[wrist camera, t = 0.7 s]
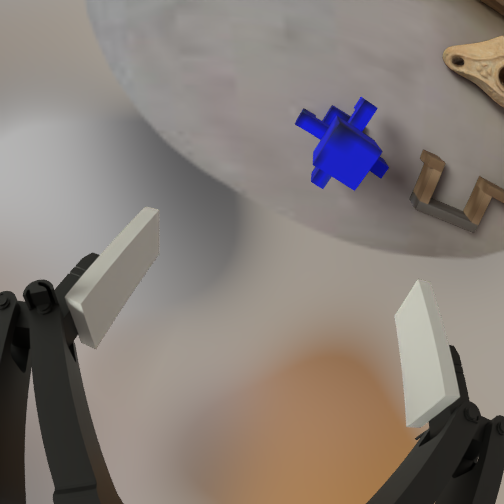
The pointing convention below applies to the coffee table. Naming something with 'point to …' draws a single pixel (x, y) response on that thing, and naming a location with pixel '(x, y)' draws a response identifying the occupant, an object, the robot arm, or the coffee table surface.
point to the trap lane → (431, 172)
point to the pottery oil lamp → (480, 65)
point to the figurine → (343, 145)
